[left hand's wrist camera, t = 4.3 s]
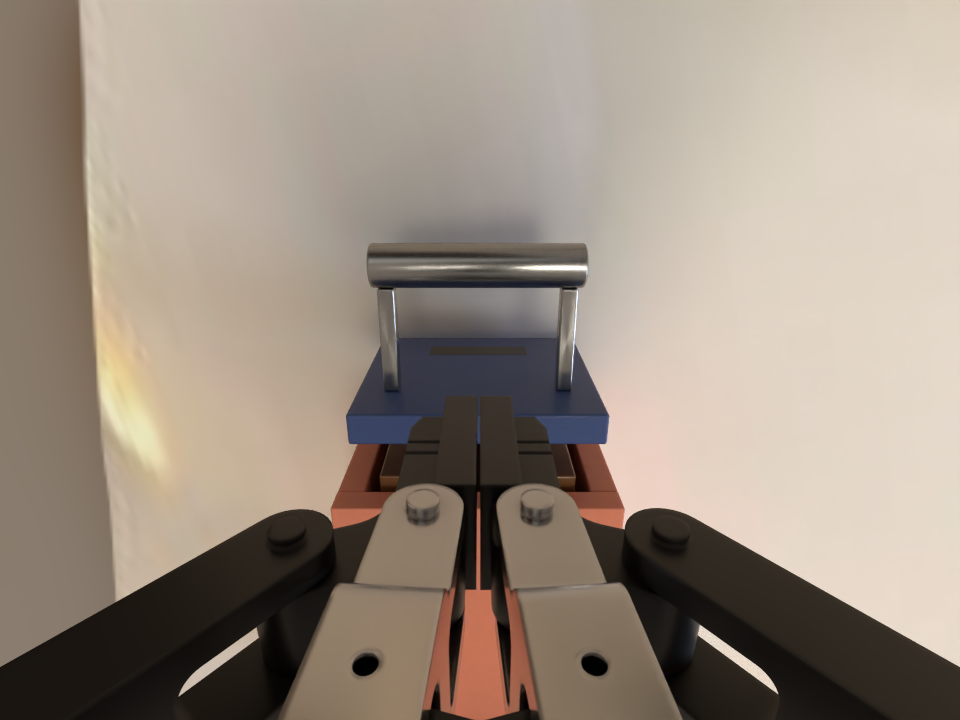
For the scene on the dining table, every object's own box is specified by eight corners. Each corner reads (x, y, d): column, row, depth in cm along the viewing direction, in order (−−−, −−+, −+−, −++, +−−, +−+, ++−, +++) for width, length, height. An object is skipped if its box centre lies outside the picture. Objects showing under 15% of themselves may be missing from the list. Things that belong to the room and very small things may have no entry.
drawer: (375, 221, 24) (328, 256, 17) (580, 221, 24) (626, 255, 17) (403, 611, 33) (380, 750, 25) (554, 611, 33) (576, 750, 25)
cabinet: (379, 388, 29) (329, 508, 19) (576, 388, 29) (625, 509, 19) (399, 650, 36) (370, 833, 26) (557, 650, 36) (585, 833, 26)
